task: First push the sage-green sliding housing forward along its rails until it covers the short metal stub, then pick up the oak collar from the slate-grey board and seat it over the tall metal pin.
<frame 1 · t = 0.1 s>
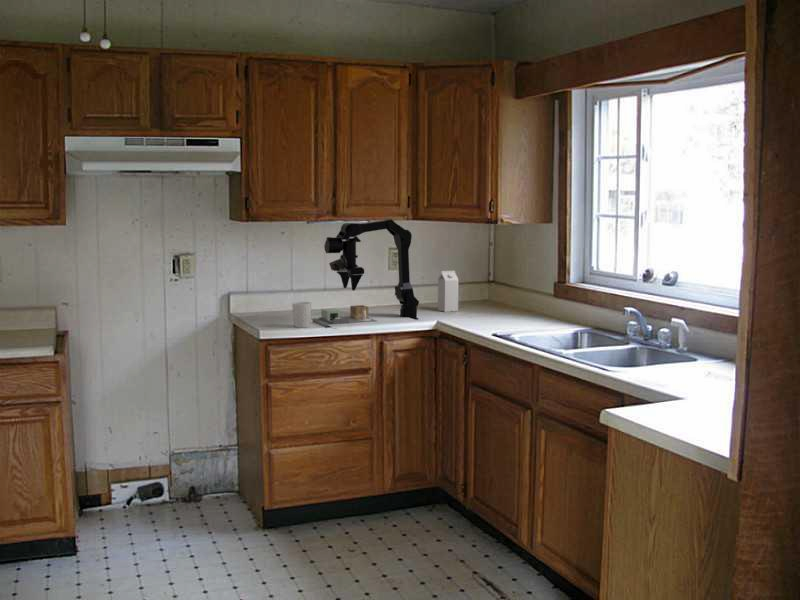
hand: (349, 289, 380), 15 cm above the counter, fingers open, 9 cm apart
board: (345, 323, 382), on the counter
collar: (359, 317, 390), point 1 cm above the counter, touching board
housing: (330, 314, 383), point 4 cm above the counter, slide at 0.0 cm
milk carton: (447, 311, 420), on the counter
white cup: (302, 327, 372), on the counter
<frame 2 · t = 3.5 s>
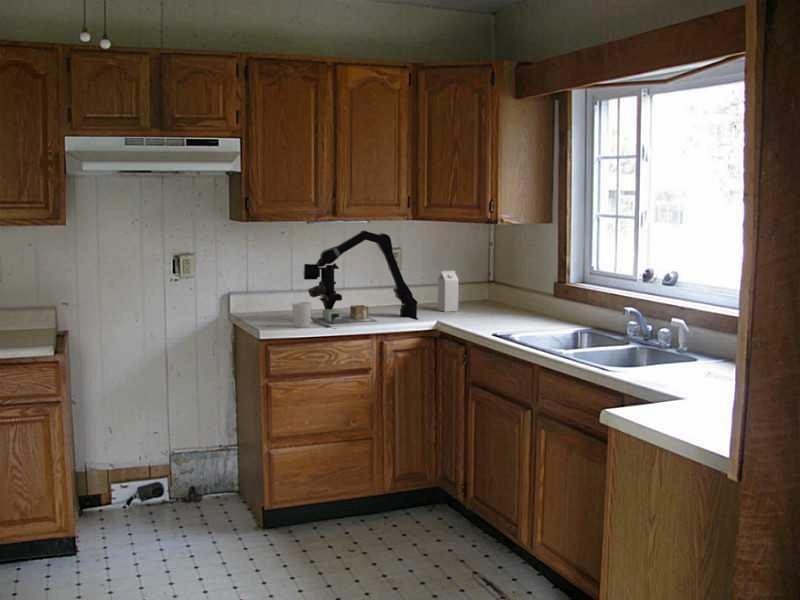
hand: (328, 314, 386), 3 cm above the counter, fingers closed
housing: (332, 314, 382), point 4 cm above the counter, slide at 1.5 cm, touching gripper
everything else where it was.
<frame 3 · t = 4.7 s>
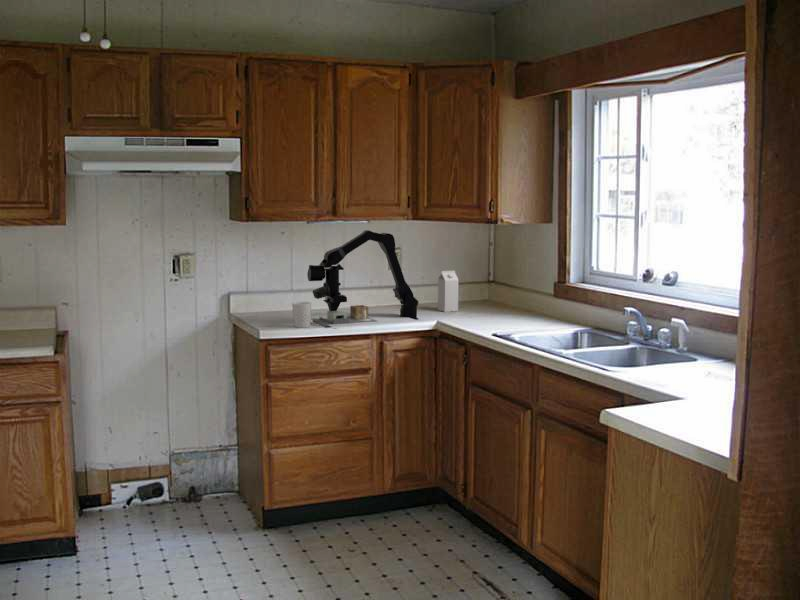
hand: (332, 316, 382), 3 cm above the counter, fingers closed
housing: (336, 316, 377), point 4 cm above the counter, slide at 6.8 cm, touching gripper
everything else where it was.
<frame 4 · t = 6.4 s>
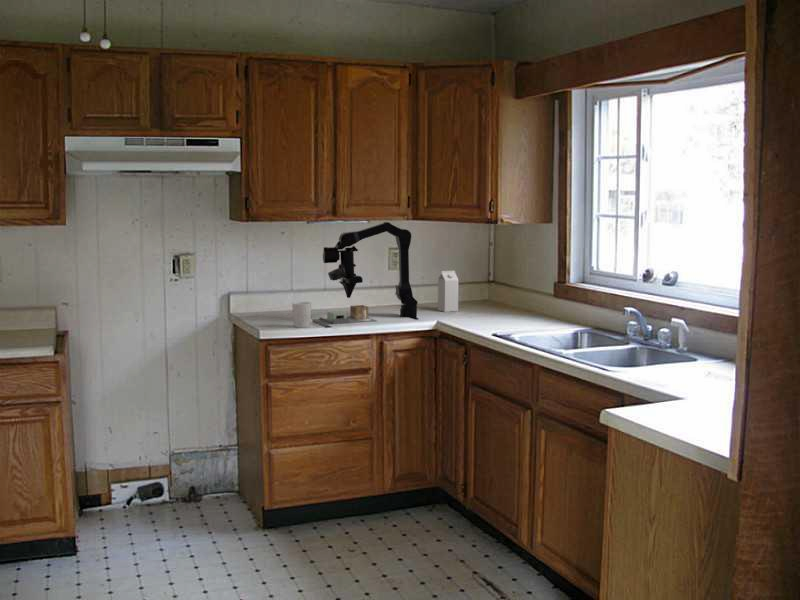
hand: (348, 297, 387), 10 cm above the counter, fingers closed
housing: (337, 316, 377), point 4 cm above the counter, slide at 6.9 cm
everything else where it was.
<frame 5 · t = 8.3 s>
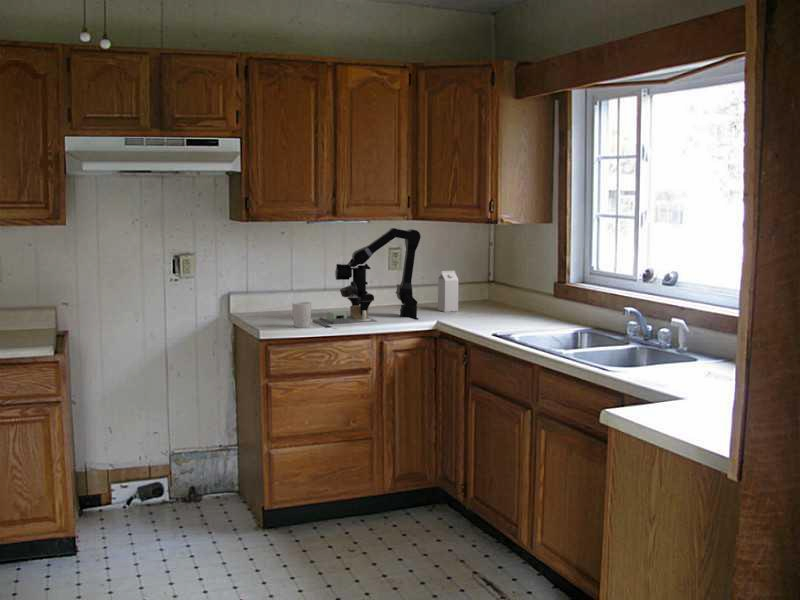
hand: (359, 315, 389), 2 cm above the counter, fingers open, 8 cm apart
nothing on the counter moved.
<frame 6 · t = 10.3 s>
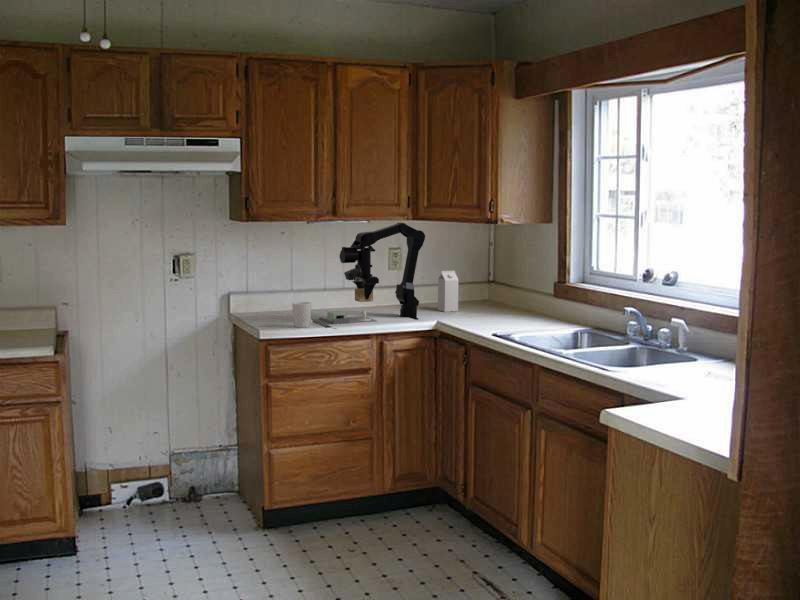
hand: (364, 298, 383), 10 cm above the counter, fingers closed on collar, 6 cm apart
collar: (363, 300, 383), point 9 cm above the counter, touching gripper
everything else where it was.
when the fingers open (3 cm above the counter, at t = 12.0 s): collar drops 1 cm, resting on board.
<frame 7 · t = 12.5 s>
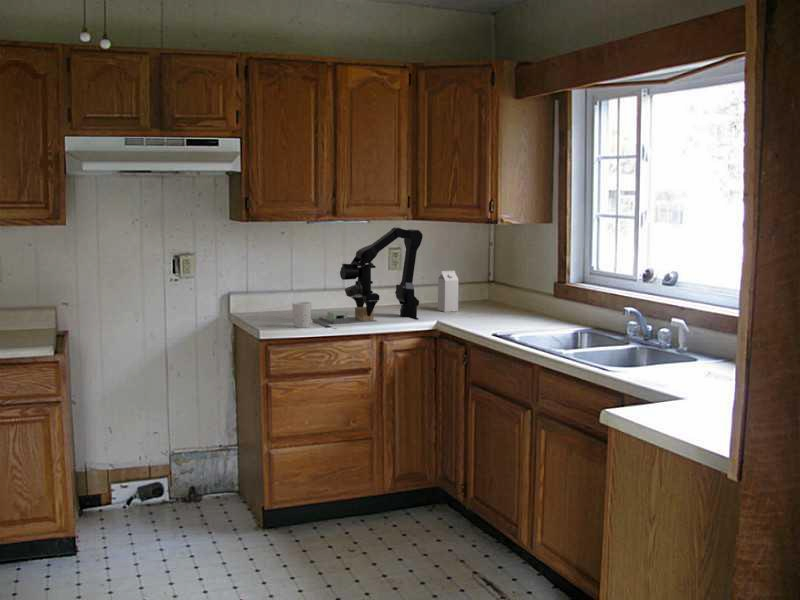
hand: (364, 314, 383), 3 cm above the counter, fingers open, 9 cm apart
collar: (364, 319, 384), point 1 cm above the counter, touching board
everything else where it was.
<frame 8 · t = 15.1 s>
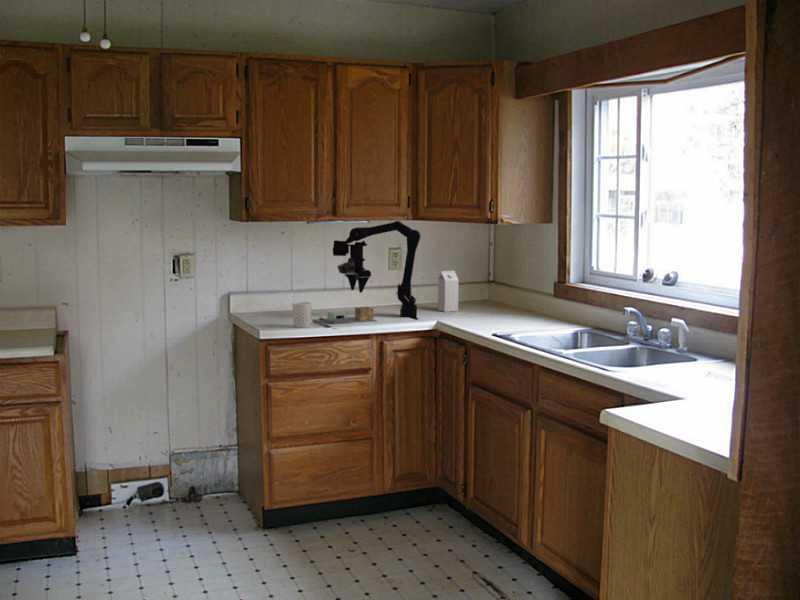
hand: (356, 291, 395), 12 cm above the counter, fingers open, 9 cm apart
nothing on the counter moved.
at the end: housing slide at 6.9 cm; collar 0.0 cm from the target spot on the board, point 1.3 cm above the board's base; collar tilted 0° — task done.
